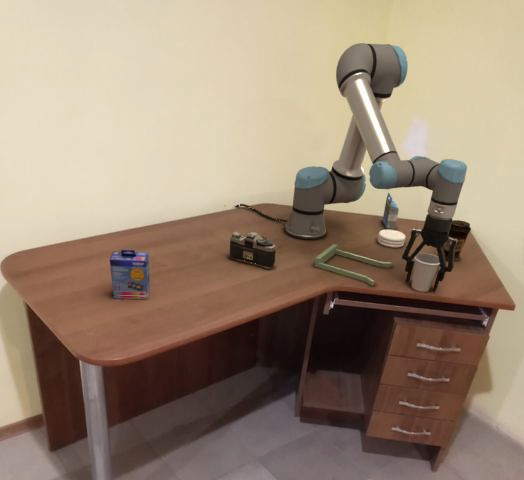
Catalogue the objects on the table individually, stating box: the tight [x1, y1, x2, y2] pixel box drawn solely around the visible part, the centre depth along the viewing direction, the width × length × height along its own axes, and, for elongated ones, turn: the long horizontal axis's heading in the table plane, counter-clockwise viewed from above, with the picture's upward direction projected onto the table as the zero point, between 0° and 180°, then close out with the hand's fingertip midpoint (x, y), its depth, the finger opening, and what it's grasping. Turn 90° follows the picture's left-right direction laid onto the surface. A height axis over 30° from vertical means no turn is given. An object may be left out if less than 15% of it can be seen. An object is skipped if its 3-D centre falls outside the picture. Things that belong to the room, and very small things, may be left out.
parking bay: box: [313, 243, 392, 287], centre depth 173 cm, size 21×18×3 cm
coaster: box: [377, 229, 406, 249], centre depth 194 cm, size 10×10×4 cm
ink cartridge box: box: [109, 249, 151, 300], centre depth 143 cm, size 10×6×14 cm, turn 95°
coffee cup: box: [443, 219, 472, 261], centre depth 184 cm, size 9×8×13 cm
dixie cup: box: [411, 252, 440, 293], centre depth 162 cm, size 8×8×10 cm
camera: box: [229, 231, 277, 270], centre depth 170 cm, size 16×10×10 cm, turn 65°
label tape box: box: [382, 191, 400, 230], centre depth 207 cm, size 9×4×12 cm, turn 179°
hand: (421, 285), depth 165 cm, fingers closed on dixie cup, 8 cm apart
